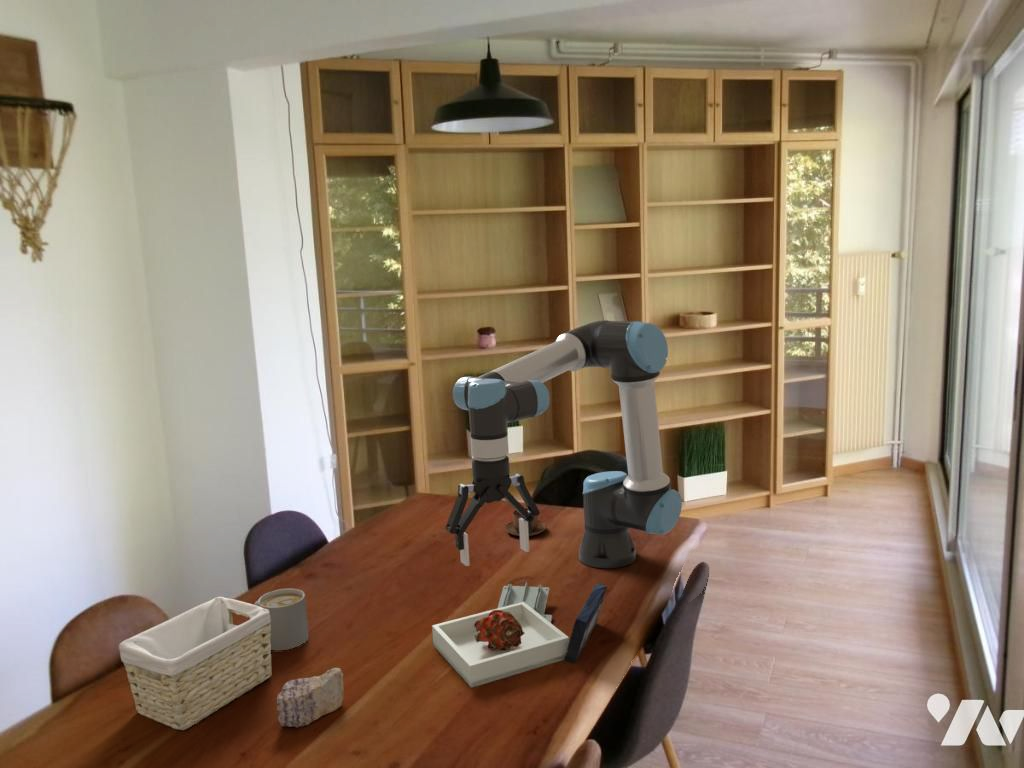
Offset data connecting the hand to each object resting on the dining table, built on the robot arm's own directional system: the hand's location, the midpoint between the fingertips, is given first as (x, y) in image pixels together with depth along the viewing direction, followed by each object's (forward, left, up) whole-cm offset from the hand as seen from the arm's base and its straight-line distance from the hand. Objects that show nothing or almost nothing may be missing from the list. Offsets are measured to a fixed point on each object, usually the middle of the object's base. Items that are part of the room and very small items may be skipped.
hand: (495, 556), depth 169 cm
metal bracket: (-13, -14, -21) cm, 29 cm away
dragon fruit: (+1, 0, -20) cm, 20 cm away
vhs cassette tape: (-16, +6, -21) cm, 27 cm away
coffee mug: (+39, -31, -21) cm, 54 cm away
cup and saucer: (-38, -61, -21) cm, 75 cm away
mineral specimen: (+41, +3, -21) cm, 46 cm away
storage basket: (+57, -14, -21) cm, 62 cm away
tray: (0, 0, -21) cm, 21 cm away
